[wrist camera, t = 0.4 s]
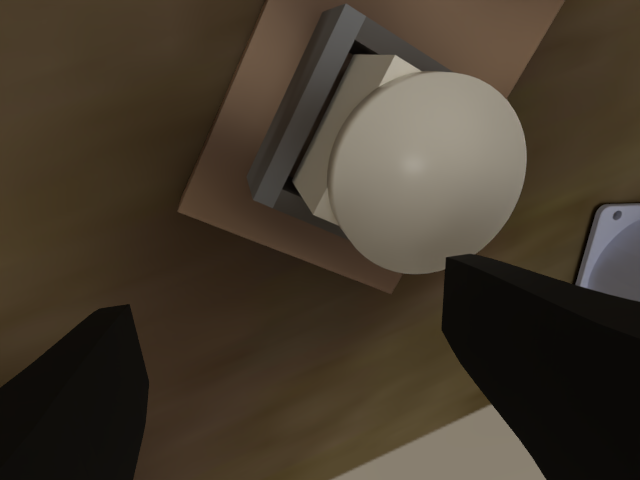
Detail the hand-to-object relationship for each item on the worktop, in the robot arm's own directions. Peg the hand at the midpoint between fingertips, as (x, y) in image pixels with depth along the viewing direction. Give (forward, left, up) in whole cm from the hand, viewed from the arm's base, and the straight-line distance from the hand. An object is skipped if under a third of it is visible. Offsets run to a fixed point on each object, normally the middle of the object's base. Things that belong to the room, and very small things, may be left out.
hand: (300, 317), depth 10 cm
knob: (-4, -3, -6) cm, 7 cm away
